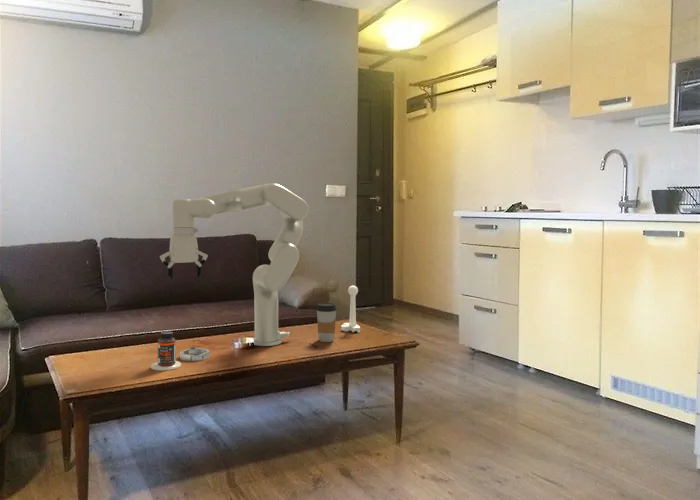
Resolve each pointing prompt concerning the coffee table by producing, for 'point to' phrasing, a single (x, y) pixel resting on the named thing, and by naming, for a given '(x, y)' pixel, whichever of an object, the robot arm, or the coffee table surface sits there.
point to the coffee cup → (326, 321)
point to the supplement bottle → (166, 349)
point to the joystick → (352, 312)
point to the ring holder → (198, 354)
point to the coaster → (163, 368)
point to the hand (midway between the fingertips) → (184, 277)
